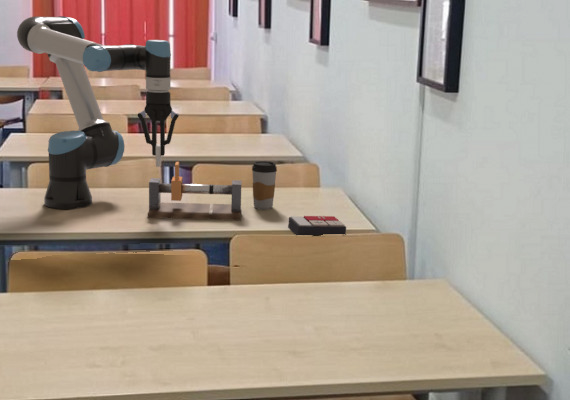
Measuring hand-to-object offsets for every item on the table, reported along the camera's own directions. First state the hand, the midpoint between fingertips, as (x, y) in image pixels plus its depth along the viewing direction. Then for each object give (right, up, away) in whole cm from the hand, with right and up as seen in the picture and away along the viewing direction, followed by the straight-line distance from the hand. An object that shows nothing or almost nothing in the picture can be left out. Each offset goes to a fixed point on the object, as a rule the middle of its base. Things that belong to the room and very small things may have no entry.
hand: (158, 165), depth 259 cm
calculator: (+50, -21, -10) cm, 55 cm away
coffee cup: (+33, -13, +15) cm, 39 cm away
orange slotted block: (+5, -10, +3) cm, 12 cm away
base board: (+11, -15, +4) cm, 19 cm away
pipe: (+11, -14, +4) cm, 18 cm away
